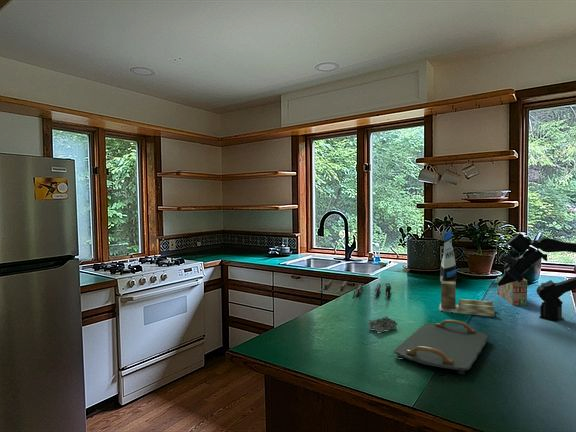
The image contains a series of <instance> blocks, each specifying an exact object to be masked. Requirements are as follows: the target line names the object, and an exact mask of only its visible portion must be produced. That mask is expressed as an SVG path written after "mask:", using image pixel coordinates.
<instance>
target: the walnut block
mask: <svg viewBox="0 0 576 432" xmlns="http://www.w3.org/2000/svg"><path fill="white" fill-rule="evenodd" d="M456 282H457V281H456ZM456 282H452V281H441V282H440V303H441V308H453V309H456V305H457V303H456V301H457V300H456V299H457V296H456V295H457V294H456V291H457V290H456V288H457V287H456V284H457V283H456Z"/></svg>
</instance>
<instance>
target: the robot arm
mask: <svg viewBox="0 0 576 432" xmlns="http://www.w3.org/2000/svg"><path fill="white" fill-rule="evenodd" d="M506 244H507V245H508V246H509V247H511V248H512V249H513V250H514V251H515V252H517V253H518V254H519V253H521V255H520V256H516V257H512V254H508V253H507V254H506V253H503V252H501V253H500V255H499V257H498V261H500V262H502V263H505V264H504V268H503V269H504V270H503V272H504V274H503V275H502V276H501V277H502V278H501V279H500V281H499V282H498V283H497V282H496V284H497V285H498V286H501V285H505V284H508V283H511V282H515V281H518V282H521V281H522V280H523V278H524V274H525V273H526V272H527V271H528V270H532V267H534V265H535V264H537V263H538V262H539V261H540V260H542V259H543V260H544V261H545V262H548V254H547V253H561V252H566V253H576V242H570V241H569V242H567V241H563V240H558V239H556V238H555V239H554V238H552V237H549V236H548V237H546V236H542V237H540V238H538V239H535V240H529V239H527V237H525V236H524V234H522V233H521V232H519V233H517V234H516V235H514V236H513V237H511V238H510V239H509V240H508V241H507V243H506ZM534 248H535V249H534ZM522 253H523V254H522ZM497 285H496V286H497ZM574 290H576V276H574V277H571V278H569V279H565V280H562V281H560V282H554V281H553V280H551V279H550V280H548V281H546V282H542V283H540V285H538V286H537V288H536V295H537V296H538V297H539V298H540V299H541V300H542V302H541V305H540V310H539V311H540V312H539V313H540V315H539V316H538V317H539V318H541V319H544V320H548V321H552V322H558V321H562V320H564V319H565V317H563V313H562V312H563V301H562V300H561V299H560V297H561V296H563V295H564V294H565V293H568V292H571V291H574Z"/></svg>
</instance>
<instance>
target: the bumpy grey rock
mask: <svg viewBox="0 0 576 432" xmlns="http://www.w3.org/2000/svg"><path fill="white" fill-rule="evenodd" d="M367 324H368V325H369V330H370V329H375V330H376V331H377V332H384V330H388V331H389V330H390V329H396V330H397V326H398V324H399V322H396V320H394V319H391V318H389V317H388V316H384V317H381V318H377V319H374V320H372V319H370V320H369V321H367ZM378 325H379V326H378ZM376 331H375V332H376ZM390 331H391V330H390ZM390 331H389V332H390Z"/></svg>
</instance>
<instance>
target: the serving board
mask: <svg viewBox="0 0 576 432" xmlns="http://www.w3.org/2000/svg"><path fill="white" fill-rule="evenodd" d="M449 324H450V325H449ZM451 324H453V325H451ZM458 325H460V326H458ZM489 339H490V335H489V334H488V333H485V332H481V331H478V330H477V329H473V328H472V327H471V326H470V325H469V324H468V323H466V322H464V321H463V320H462V321H460V320H456V319H445V320H443V321H441V322H440V323H439V322H436V323H432V322H431V323H430V322H429V323H424V324H423V325H421V326H420V327H419V328H418V329H417V330H416V331H415V332H413V333H412V334H411V335H410V336H408V338H406V339H405V340H404V341H403V342H402V343H400V344H399V345H398V346H397V347H396V348H395V349H394V350H393V353H394V354H396V355H397V357H398V358H404V359H407V360H409V361H413V362H416V363H419V364H422V365H427V366H430V367H437V368H440V369H448V370H454V371H456V373H458V374H457V375H459V374H461V375H460V376H464V375H465V372H466V371H469V370H470V369H471V368H472V366H473V364H474V363H475V362H476V360H477V359H478V356H479V355H480V354H481V353H482V352H483V348H485V347H486V345H487V343H488V340H489ZM397 357H396V358H397ZM398 358H397V359H398Z"/></svg>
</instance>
